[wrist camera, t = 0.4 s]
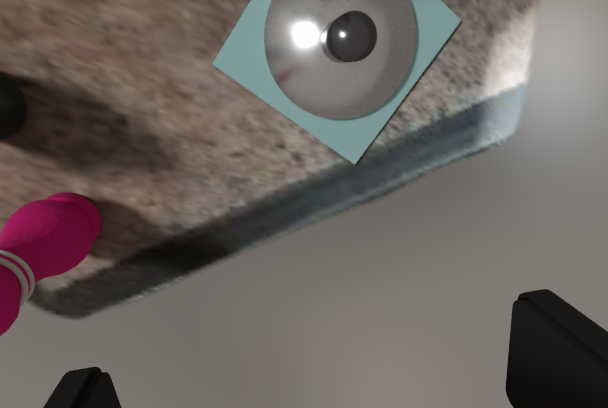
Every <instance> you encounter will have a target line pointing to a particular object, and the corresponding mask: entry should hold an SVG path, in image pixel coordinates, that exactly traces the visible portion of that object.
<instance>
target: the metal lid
mask: <svg viewBox="0 0 608 408" xmlns="http://www.w3.org/2000/svg"><path fill="white" fill-rule="evenodd" d="M414 45H415V22H414V16H413V11H412V7H411V4H410V2H409V0H272V1H271V4H270V6H269V9H268V12H267V16H266V21H265V28H264V49H265V56H266V60H267V64H268V67H269V69H270V72H271V74H272V76H273V78H274V80H275V82H276V84H277V85H278V87H279V88H280V90H281V91H282V92H283V93H284V94H285V96H286V97H287V98H288V99H289V100H290V101H292V102H293V103H294V104H295V105H296V106H298V107H299V108H301V109H303V110H304V111H306V112H308V113H310V114H313V115H315V116H318V117H322V118H327V119H349V118H354V117H358V116H361V115H363V114H366V113H368V112H370V111H372V110H374V109H376V108H377V107H379V106H380V105H381V104H383V103H384V102H385V101H386V100H387V99H388V98H389V97H390V96H391V95H392V94H393V93H394V92H395V91H396V89H397V88H398V87H399V85H400V84H401V82H402V81H403V79H404V77H405V75H406V73H407V71H408V69H409V66H410V63H411V60H412V56H413V52H414Z"/></svg>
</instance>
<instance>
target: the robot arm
mask: <svg viewBox="0 0 608 408" xmlns="http://www.w3.org/2000/svg"><path fill="white" fill-rule="evenodd" d="M506 392H507V397H508V399H509V401H510V403H511V404H512V406H513V407H514V408H608V332H607V331H606V330H604V329H603V328H602V327H600V326H599V325H597V324H596V323H595V322H593V321H592V320H590V319H589V318H588V317H586V316H585V315H583V314H582V313H581V312H579V311H578V310H577V309H575V308H574V307H572V306H571V305H570V304H568V303H567V302H565V301H564V300H563V299H561V298H560V297H559V296H557V295H556V294H555V293H553V292H552V291H550V290H546V289H543V290H537V291H531V292H525V293H522V294H520V295H519V297H518V300H517V301H515V302H514V303H513V308H512V319H511V331H510V343H509V355H508V366H507V378H506ZM43 408H121V405H120V403H119V400H118V397H117V394H116V391H115V388H114V385H113V383H112V380H111V377H110V375H109V374H108V373H107V372H103V373H102V372H101V369H100V368H98V367H91V368H86V369H79V370H74V371H69V372H67V373H66V374H65V375H64V376H63V378H62V379H61V381H60V382H59V384H58V385H57V387H56V388H55V390H54V392H53V393H52V395H51V396H50V398H49V399H48V401H47V403H46V404H45V406H44V407H43Z"/></svg>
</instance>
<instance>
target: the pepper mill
mask: <svg viewBox="0 0 608 408" xmlns="http://www.w3.org/2000/svg"><path fill="white" fill-rule="evenodd" d="M101 227H102V221H101V216H100V213H99V212H98V210H97V208H96V207H95V206H94V205H93V204H92V202H90V201H89V200H88V199H86V198H84V197H82V196H80V195H77V194H74V193H58V194H54V195H52V196H50V197H48V198H46V199H45V200H38V201H34V202H31V203H28V204H26V205H24V206H23V207H21V208H20V209H19V210H17V211H16V212H15V213H14V214H13V215H11V217H10V218H9V220H8V221H7V222H6V224H5V226H4V228H3V230H2V233H1V237H0V336H1V335H2V334H3V333H5V332H6V331H7V330H8V329H9V327H10V326H11V325H12V324H13V322H14V321H15V320H16V318H17V316H18V313H19V310H20V306H21V305H22V304H23V303H24V302H25V301H26V300H27V299H28V298H29V297H30V296H31V294H32V293H33V290H34V287H35V283H36V282H37V281H39V280H41V279H43V278H45V277H50V276H55V275H59V274H62V273H64V272H66V271H68V270H70V269H72V268H74V267H75V266H77V265H78V264H79V263H80V262H81V261H82V260H83V259H84V258H85V257H86V256H87V255H88V253H89V251H90V249H91V246H92V242H93V241H94V240H95V239H96V238H97V237H98V235H99V233H100V231H101Z"/></svg>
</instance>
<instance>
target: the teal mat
mask: <svg viewBox="0 0 608 408" xmlns="http://www.w3.org/2000/svg"><path fill="white" fill-rule="evenodd" d="M271 1H272V0H251V1H250V3H249V5H248V6H247V8H246V10H245V11H244V13H243V15H242V16H241V18H240V19H239V21H238V23H237V24H236V26H235V28H234V29H233V31H232V33H231V34H230V36H229V38H228V39H227V41H226V43H225V44H224V46H223V47H222V49H221V51H220V52H219V54H218V56H217V57H216V59H215V61H214V62H213V65H214V66H216V67H217V68H218V69H220V70H221V71H223V72H224V73H225V74H227V75H228V76H230V77H231V78H233V79H234V80H235V81H237V82H238V83H240V84H241V85H242V86H244V87H245V88H247V89H248V90H250V91H251V92H252V93H254V94H255V95H257V96H258V97H260V98H261V99H262V100H264V101H265V102H267V103H268V104H269V105H271V106H272V107H274V108H275V109H277V110H278V111H279V112H281V113H282V114H284V115H285V116H286V117H288V118H289V119H291V120H292V121H294V122H295V123H296V124H298V125H299V126H301V127H302V128H303V129H305V130H306V131H308V132H309V133H311V134H312V135H313V136H315V137H316V138H318V139H319V140H321V141H322V142H323V143H325V144H326V145H328V146H329V147H330V148H332V149H333V150H335V151H336V152H338V153H339V154H340V155H342V156H343V157H345V158H346V159H347V160H349V161H350V162H352V163H353V164H356V163H357V161H358V160H359V159H360V157H361V156H362V155H363V153H364V152H365V150H366V149H367V148H368V146H369V145H370V144H371V142H372V141H373V140H374V138H375V137H376V136H377V134H378V133H379V131H380V130H381V129H382V127H383V126H384V125H385V123H386V122H387V121H388V119H389V118H390V117H391V115H392V114H393V112H394V111H395V110H396V108H397V107H398V106H399V104H400V103H401V102H402V100H403V99H404V98H405V96H406V95H407V93H408V92H409V91H410V89H411V88H412V87H413V85H414V84H415V83H416V81H417V80H418V79H419V77H420V76H421V75H422V73H423V72H424V70H425V69H426V68H427V66H428V65H429V64H430V62H431V61H432V60H433V58H434V57H435V56H436V54H437V53H438V51H439V50H440V49H441V47H442V46H443V45H444V43H445V42H446V41H447V39H448V38H449V37H450V35H451V34H452V32H453V31H454V30H455V28H456V27H457V26H458V24H459V23H460V22H461V19H460V18H459V17H458V16H456V15H455V14H454V13H453V12H452V11H451V10H450V9H449V8H448V7H447V6H446V5H445V4H444V3H443V2H442V1H441V0H409V2H410V4H411V7H412V11H413V16H414V22H415V45H414V52H413V56H412V60H411V63H410V66H409V69H408V71H407V73H406V75H405V77H404V79H403V81H402V82H401V84H400V85H399V87H398V88H397V89H396V91H395V92H394V93H393V94H392V95H391V96H390V97H389V98H388V99H387V100H386V101H385V102H384V103H383V104H381V105H380V106H379V107H377V108H376V109H374V110H372V111H370V112H368V113H366V114H363V115H361V116H358V117H354V118H349V119H327V118H322V117H318V116H315V115H313V114H310V113H308V112H306V111H304V110H303V109H301V108H299V107H298V106H296V105H295V104H294V103H293V102H292V101H290V100H289V99H288V98H287V97H286V96H285V94H284V93H283V92H282V91H281V90H280V88H279V87H278V85H277V84H276V82H275V80H274V78H273V76H272V74H271V72H270V69H269V67H268V64H267V60H266V56H265V49H264V28H265V21H266V16H267V12H268V9H269V6H270V4H271Z"/></svg>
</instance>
